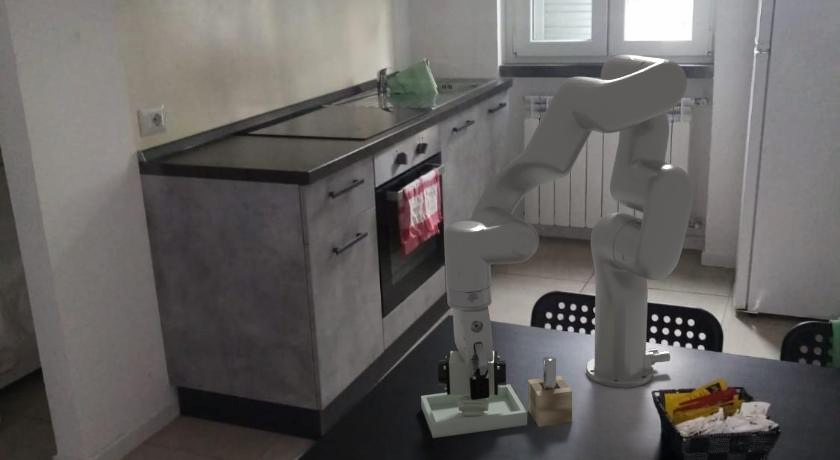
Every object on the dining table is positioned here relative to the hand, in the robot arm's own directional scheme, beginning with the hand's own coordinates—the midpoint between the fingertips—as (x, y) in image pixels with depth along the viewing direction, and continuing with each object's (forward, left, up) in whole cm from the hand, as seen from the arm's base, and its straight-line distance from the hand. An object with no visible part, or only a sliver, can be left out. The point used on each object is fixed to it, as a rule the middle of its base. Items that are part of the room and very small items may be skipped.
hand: (473, 385), depth 151 cm
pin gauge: (-13, +4, -6) cm, 15 cm away
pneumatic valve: (0, -1, -6) cm, 6 cm away
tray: (0, 0, -6) cm, 6 cm away
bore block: (-13, +4, -6) cm, 15 cm away
